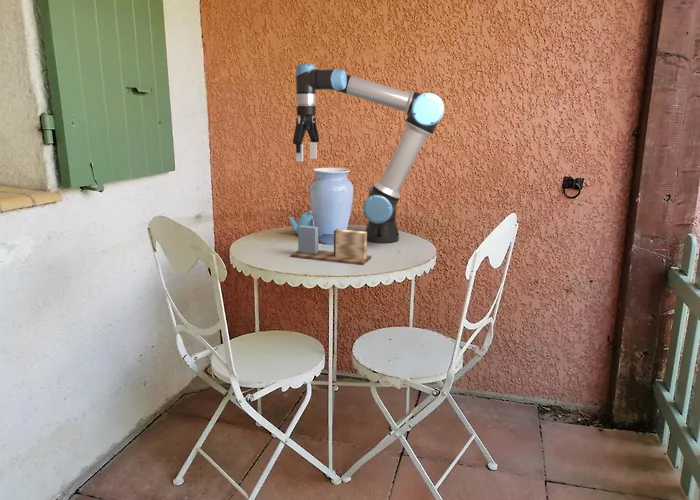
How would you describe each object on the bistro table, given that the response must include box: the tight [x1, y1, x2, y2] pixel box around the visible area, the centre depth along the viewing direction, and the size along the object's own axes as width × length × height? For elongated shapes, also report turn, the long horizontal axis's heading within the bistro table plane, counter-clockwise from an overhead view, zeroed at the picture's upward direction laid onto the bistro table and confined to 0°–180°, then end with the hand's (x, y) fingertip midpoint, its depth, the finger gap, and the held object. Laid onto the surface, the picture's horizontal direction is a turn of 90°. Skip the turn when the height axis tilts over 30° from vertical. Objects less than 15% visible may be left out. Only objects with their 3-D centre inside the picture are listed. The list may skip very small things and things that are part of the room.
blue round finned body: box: [288, 210, 315, 235], centre depth 243 cm, size 15×15×11 cm
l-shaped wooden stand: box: [290, 228, 372, 266], centre depth 206 cm, size 29×10×11 cm, turn 70°
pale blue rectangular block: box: [297, 225, 319, 254], centre depth 209 cm, size 7×3×10 cm, turn 70°
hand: (306, 159), depth 220 cm, fingers open, 13 cm apart
